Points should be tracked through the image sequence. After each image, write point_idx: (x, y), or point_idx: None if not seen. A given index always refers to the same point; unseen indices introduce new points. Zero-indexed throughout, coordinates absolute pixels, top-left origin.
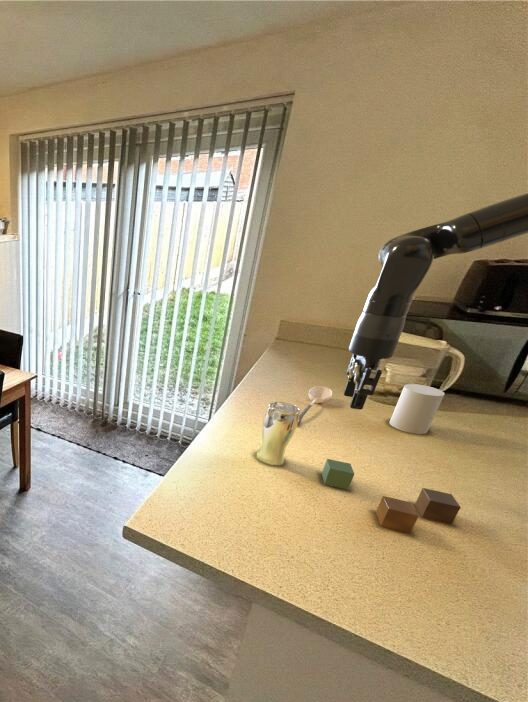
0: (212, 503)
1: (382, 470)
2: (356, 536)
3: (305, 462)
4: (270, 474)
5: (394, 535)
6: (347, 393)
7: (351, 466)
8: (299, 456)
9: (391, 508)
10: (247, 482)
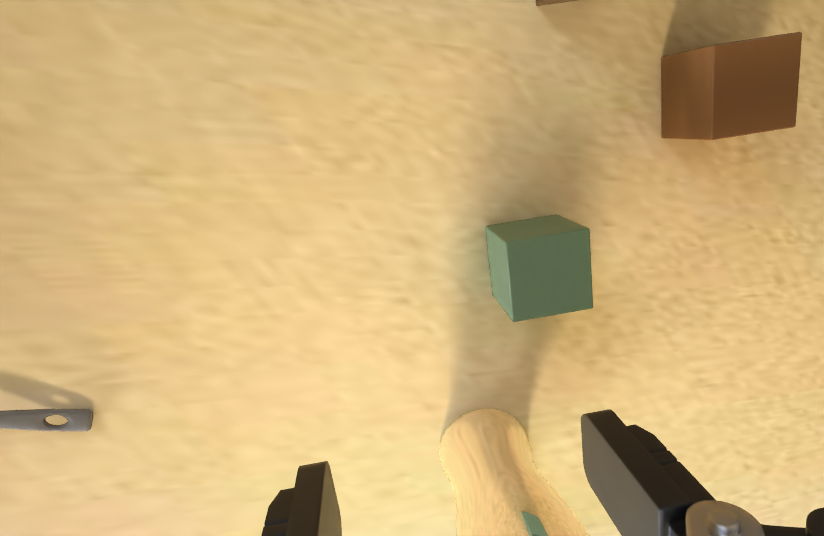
0: None
1: (314, 93)
2: (815, 192)
3: (434, 347)
4: None
5: None
6: (335, 524)
7: (531, 239)
8: (398, 369)
9: (791, 118)
10: None
